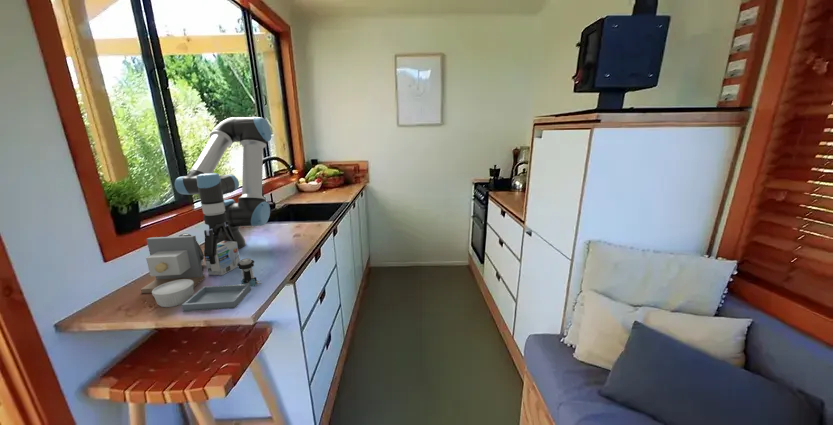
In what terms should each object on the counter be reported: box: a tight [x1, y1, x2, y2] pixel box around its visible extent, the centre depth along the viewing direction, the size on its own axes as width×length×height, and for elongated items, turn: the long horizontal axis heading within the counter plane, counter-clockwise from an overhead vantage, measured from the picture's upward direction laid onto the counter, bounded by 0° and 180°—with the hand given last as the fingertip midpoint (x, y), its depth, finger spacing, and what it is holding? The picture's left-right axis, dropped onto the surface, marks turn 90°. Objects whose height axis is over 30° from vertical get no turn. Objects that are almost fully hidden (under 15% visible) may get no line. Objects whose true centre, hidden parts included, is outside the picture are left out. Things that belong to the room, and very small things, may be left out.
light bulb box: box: [202, 241, 241, 276], centre depth 126 cm, size 11×7×11 cm, turn 169°
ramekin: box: [151, 279, 194, 308], centre depth 104 cm, size 11×11×5 cm
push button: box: [237, 257, 262, 288], centre depth 112 cm, size 7×5×10 cm
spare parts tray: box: [181, 284, 252, 313], centre depth 104 cm, size 12×16×2 cm
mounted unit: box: [140, 235, 206, 294], centre depth 113 cm, size 10×16×18 cm, turn 95°
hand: (224, 264), depth 127 cm, fingers closed on light bulb box, 12 cm apart
